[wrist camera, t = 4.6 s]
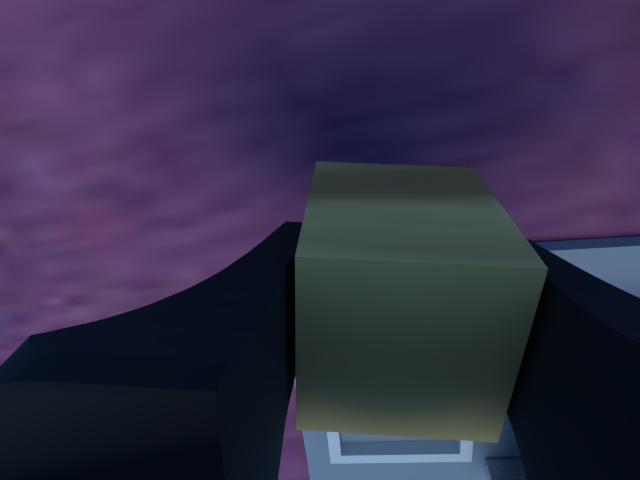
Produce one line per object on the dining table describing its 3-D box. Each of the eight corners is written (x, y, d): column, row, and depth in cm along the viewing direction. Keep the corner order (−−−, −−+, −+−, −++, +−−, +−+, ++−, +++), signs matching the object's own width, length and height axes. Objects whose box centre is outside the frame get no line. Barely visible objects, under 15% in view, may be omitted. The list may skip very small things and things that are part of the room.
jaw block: (316, 161, 12) (294, 256, 7) (473, 167, 12) (548, 268, 7) (314, 291, 14) (296, 429, 9) (450, 298, 14) (498, 442, 9)
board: (277, 257, 20) (272, 276, 19) (686, 233, 19) (714, 252, 17) (315, 489, 28) (312, 515, 26) (613, 487, 26) (628, 515, 25)
